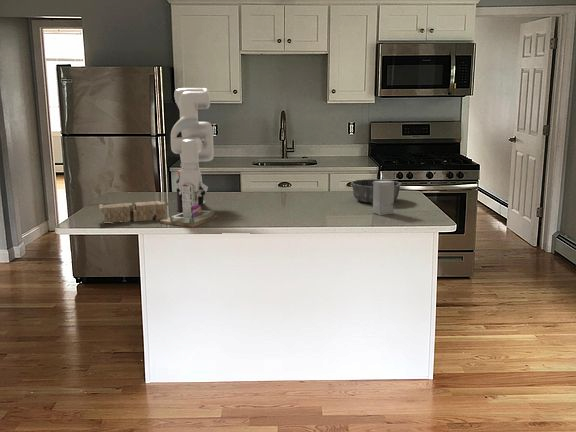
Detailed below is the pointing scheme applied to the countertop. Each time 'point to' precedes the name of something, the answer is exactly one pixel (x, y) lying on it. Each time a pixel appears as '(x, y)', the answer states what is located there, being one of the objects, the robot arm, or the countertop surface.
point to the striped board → (190, 219)
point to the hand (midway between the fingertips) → (191, 203)
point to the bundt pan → (369, 189)
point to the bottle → (179, 204)
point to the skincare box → (383, 197)
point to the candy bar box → (190, 202)
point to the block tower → (133, 211)
